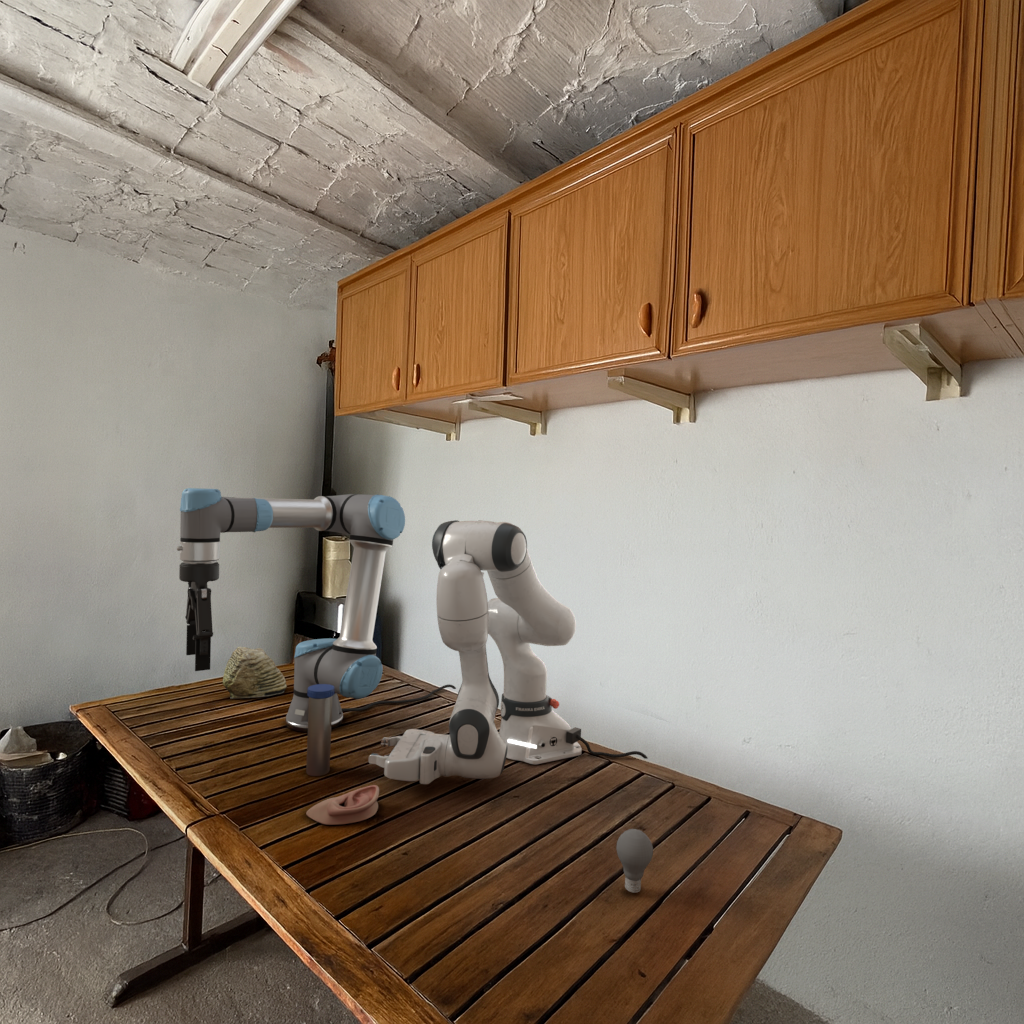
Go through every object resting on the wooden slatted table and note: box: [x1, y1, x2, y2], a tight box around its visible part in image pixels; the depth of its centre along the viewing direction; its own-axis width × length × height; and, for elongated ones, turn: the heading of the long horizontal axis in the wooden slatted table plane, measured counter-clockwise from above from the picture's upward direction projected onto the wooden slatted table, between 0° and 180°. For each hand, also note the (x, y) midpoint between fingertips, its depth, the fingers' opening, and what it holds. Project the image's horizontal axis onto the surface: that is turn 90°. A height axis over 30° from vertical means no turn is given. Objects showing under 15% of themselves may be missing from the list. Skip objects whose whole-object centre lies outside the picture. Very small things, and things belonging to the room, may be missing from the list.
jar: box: [305, 696, 332, 777], centre depth 146 cm, size 5×5×19 cm
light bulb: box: [615, 828, 654, 894], centre depth 106 cm, size 6×6×10 cm
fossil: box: [222, 646, 288, 699], centre depth 198 cm, size 9×18×15 cm, turn 132°
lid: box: [307, 684, 335, 699], centre depth 146 cm, size 6×6×2 cm
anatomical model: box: [305, 784, 380, 826], centre depth 128 cm, size 13×4×12 cm
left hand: (197, 662), depth 134 cm, fingers open, 13 cm apart
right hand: (375, 749), depth 144 cm, fingers open, 8 cm apart
